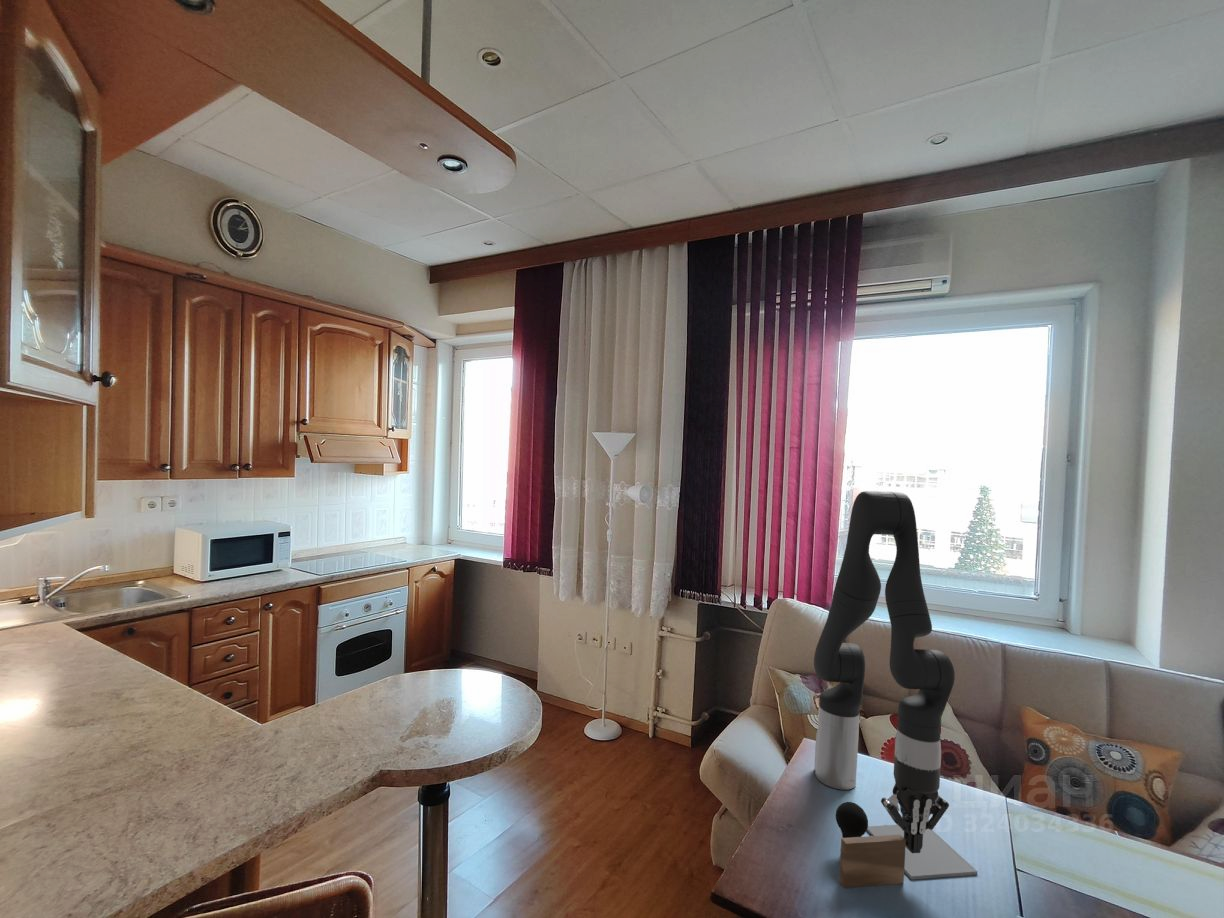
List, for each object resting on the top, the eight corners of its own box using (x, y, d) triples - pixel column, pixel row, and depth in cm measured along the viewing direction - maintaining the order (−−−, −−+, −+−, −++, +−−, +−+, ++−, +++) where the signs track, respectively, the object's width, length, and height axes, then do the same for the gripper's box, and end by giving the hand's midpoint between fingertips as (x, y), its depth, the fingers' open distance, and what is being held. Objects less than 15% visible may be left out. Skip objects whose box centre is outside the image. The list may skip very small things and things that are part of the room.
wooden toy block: (839, 881, 101) (841, 838, 101) (898, 877, 103) (900, 834, 103) (843, 887, 100) (846, 843, 100) (903, 883, 102) (905, 839, 102)
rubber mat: (865, 829, 117) (865, 826, 117) (924, 825, 119) (924, 823, 119) (911, 879, 103) (911, 876, 103) (977, 874, 105) (977, 871, 105)
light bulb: (863, 849, 111) (866, 799, 111) (868, 869, 105) (871, 816, 105) (832, 842, 112) (834, 792, 112) (835, 861, 106) (838, 810, 106)
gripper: (933, 745, 108) (929, 834, 108) (872, 748, 105) (867, 838, 105) (964, 767, 100) (959, 862, 100) (899, 770, 98) (894, 867, 98)
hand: (912, 850), depth 103 cm, fingers closed
